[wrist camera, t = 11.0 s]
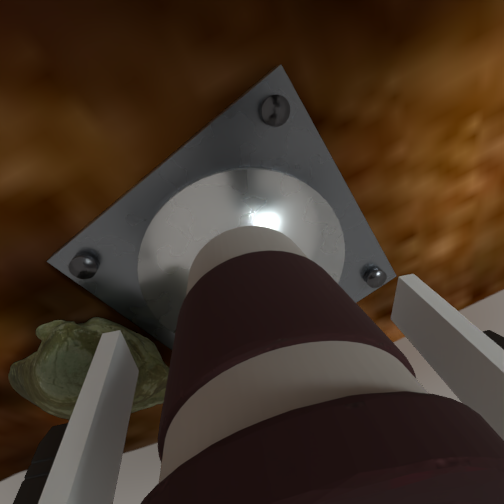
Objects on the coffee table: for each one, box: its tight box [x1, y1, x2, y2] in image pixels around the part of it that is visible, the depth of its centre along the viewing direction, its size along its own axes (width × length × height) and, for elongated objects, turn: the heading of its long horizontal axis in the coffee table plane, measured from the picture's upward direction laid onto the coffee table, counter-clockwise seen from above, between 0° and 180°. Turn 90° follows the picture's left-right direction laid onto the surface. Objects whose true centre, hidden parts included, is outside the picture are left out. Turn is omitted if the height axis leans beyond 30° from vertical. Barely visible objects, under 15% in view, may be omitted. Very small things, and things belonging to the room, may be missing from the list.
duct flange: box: [47, 65, 396, 350], centre depth 19 cm, size 16×16×2 cm
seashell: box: [8, 317, 169, 420], centre depth 19 cm, size 10×7×10 cm
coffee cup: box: [141, 226, 504, 504], centre depth 12 cm, size 10×10×15 cm
